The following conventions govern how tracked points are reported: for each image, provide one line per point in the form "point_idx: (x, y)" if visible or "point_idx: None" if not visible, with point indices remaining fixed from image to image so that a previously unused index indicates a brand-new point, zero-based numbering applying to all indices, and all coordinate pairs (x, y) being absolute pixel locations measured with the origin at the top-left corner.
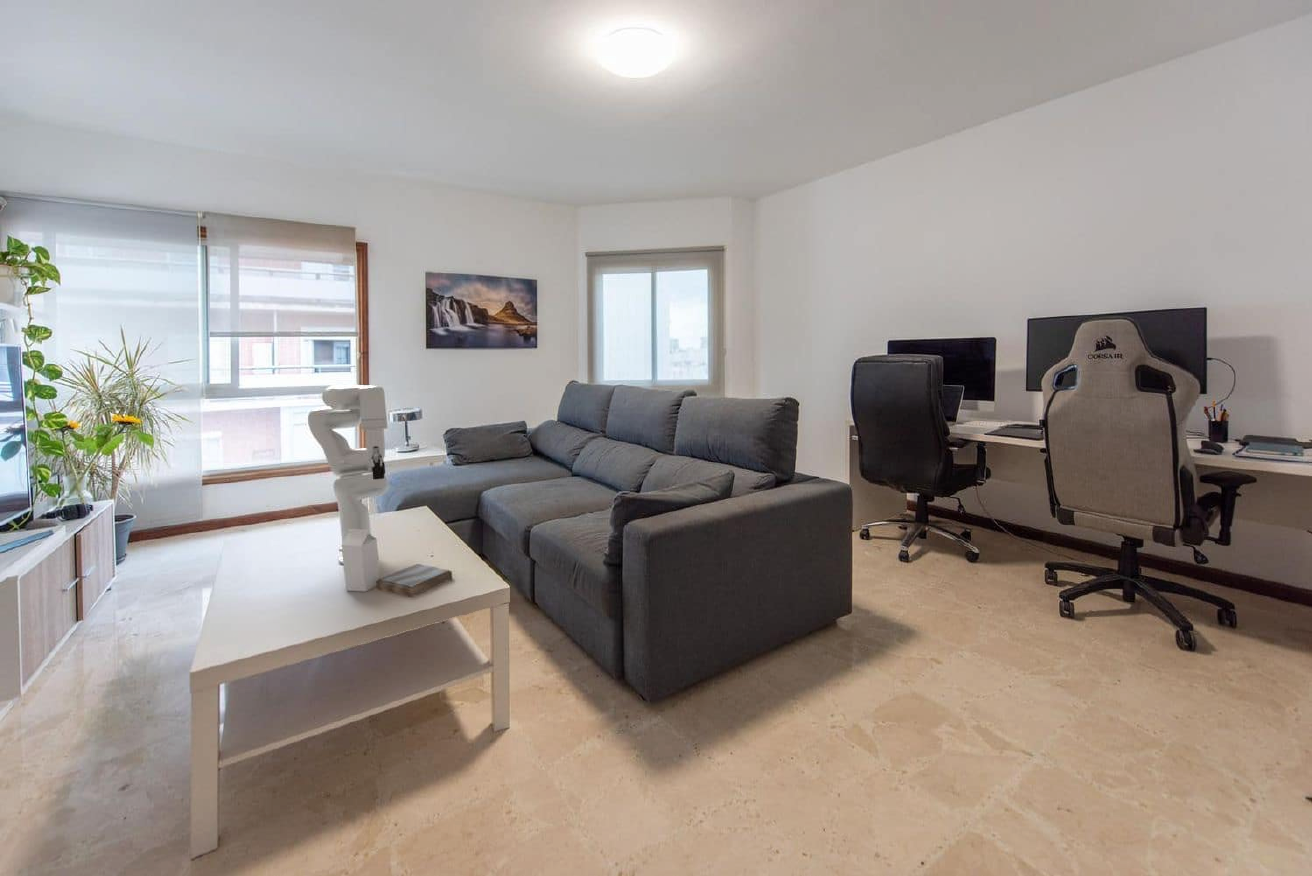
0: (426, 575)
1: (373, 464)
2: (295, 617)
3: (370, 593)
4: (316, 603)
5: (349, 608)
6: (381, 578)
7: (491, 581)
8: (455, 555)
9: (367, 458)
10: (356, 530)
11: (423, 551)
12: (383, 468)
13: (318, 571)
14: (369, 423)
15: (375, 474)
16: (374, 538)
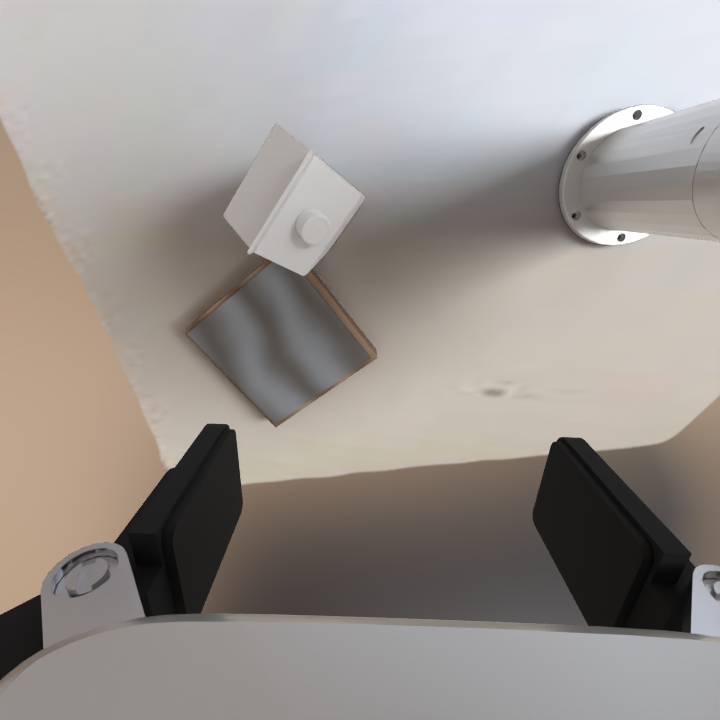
0: (259, 372)
1: (45, 604)
2: (142, 3)
3: None
4: (238, 62)
5: (165, 170)
6: None
7: None
8: (458, 443)
9: (2, 682)
10: (281, 196)
11: (554, 375)
12: (561, 563)
13: (575, 31)
14: None
15: (161, 482)
16: (300, 269)
